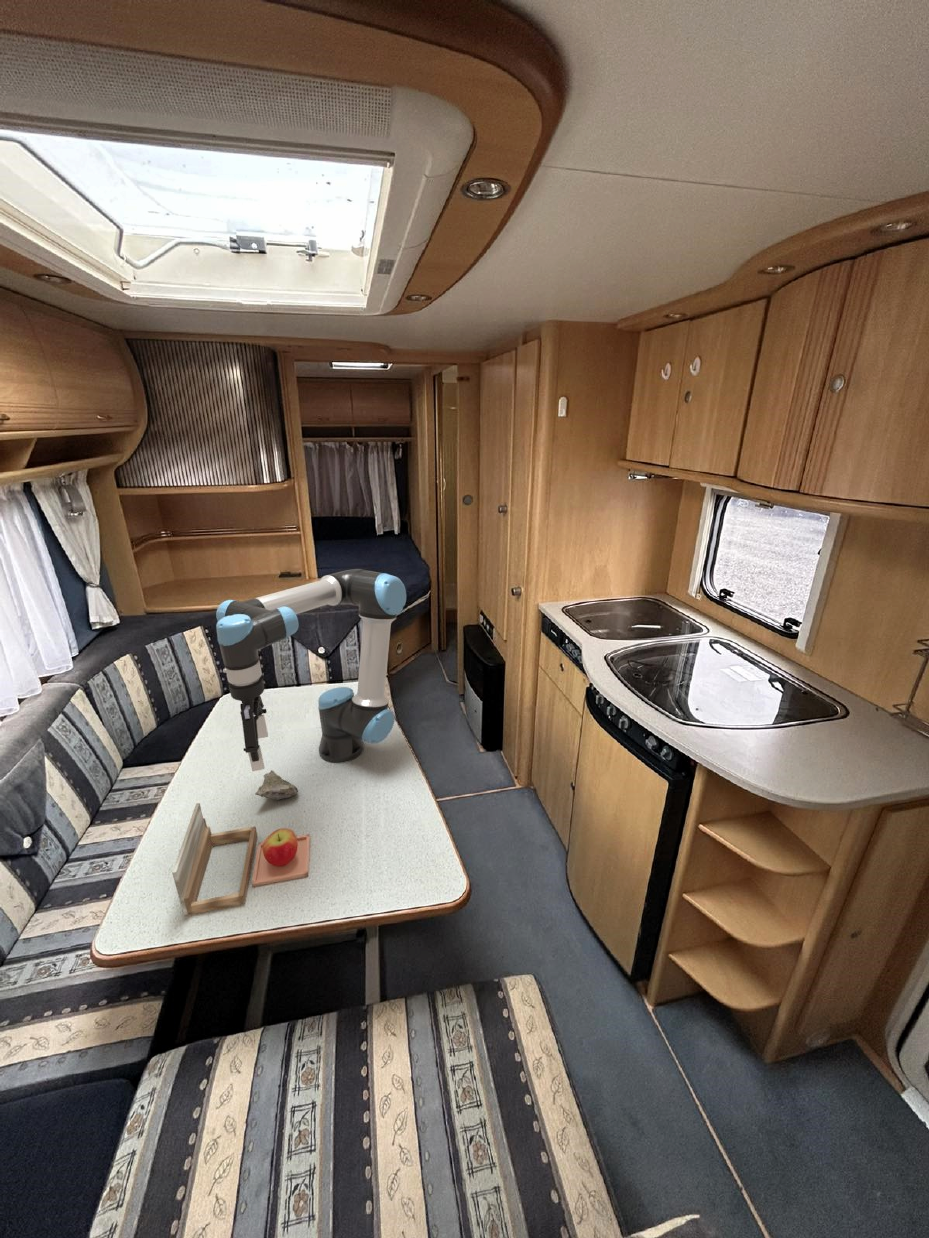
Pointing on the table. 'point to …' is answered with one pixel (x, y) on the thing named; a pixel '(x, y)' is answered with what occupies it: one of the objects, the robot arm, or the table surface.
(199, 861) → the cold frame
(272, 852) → the apple
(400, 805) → the table surface
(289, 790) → the rock
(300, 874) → the dish
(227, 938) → the table surface
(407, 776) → the table surface
